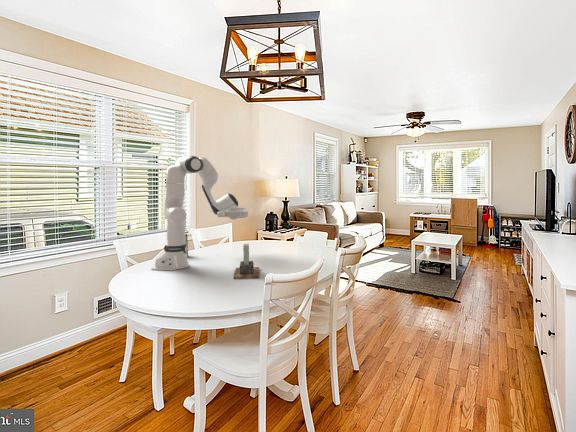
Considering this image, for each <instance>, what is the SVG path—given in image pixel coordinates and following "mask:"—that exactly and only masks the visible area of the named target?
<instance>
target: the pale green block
mask: <svg viewBox="0 0 576 432" xmlns="http://www.w3.org/2000/svg"><path fill="white" fill-rule="evenodd" d="M242 247H243V248H242V249H243V261H244V265H249V261H250V243H243V245H242Z"/></svg>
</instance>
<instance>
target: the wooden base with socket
mask: <svg viewBox="0 0 576 432" xmlns="http://www.w3.org/2000/svg"><path fill="white" fill-rule="evenodd" d="M243 279H245V280H246V279H248V280H249V279H260V266H255V265H254V261H253V260H249V265H244V260H241V261H240V263H239V267H235V270H234V274H233V280H243Z"/></svg>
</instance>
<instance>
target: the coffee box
mask: <svg viewBox="0 0 576 432" xmlns="http://www.w3.org/2000/svg"><path fill="white" fill-rule="evenodd" d="M188 243H189V242H188V234H187V233H185V244H186V246H187V252H186V255H187V257H189V245H188Z"/></svg>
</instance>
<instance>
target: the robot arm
mask: <svg viewBox="0 0 576 432" xmlns="http://www.w3.org/2000/svg"><path fill="white" fill-rule="evenodd" d="M195 173H196V174H198V176H199V177H200V178H201V181H202V183H201V188H202V191H203V194H204V196H205V198H206V200H207V202H208V204H209V206H210V209H211V212H212V213H213V214H214V215H216V216H217V218H229V219H230V220H238V219H243V218H247V217H249V211H248V209H247V208H245V207H239V202H238V200H237V197H235V195H233V194H232V193H227V194H224V195H223V196H222V197H220V198H218V199H217V200H215V199H214V197H213V195H212V193H211V190H212V188H213V187H214V186H215V185H216V184H217V181H218V179H219V174H218V171H217V170H216V168H215V166H214V165H213V164H212V163H211V162H210V161H209V160H208V158H206V157H205V156H199V157H197V156H196V155H183V156H182V155H181V156H179V157H177V158H175V160H174V161H173V165H169V167H168V168H167V171H166V176H165V200H164V211H163V215H164V218H165V219H166V221H167V225H166V244H165V245H164V247H163V250H164V251H163V252H162V253H160V254H159V255H158V256H157V257H156V258H155V261H154V262H155V263H154V264H153V265H152V266H151V268H150V269H151V270H152V271H153V270H154V271H176V270H177V271H178V270H180V269H185V268H188V267H189V266H190V264H189V261H188V256H187V255H186V252H187V246H186V244H185V234H186V223H187V212H186V210H185V208H183V205H184V199H185V184H186V183H185V182H186V181H185V177H186V175H187V174H195Z"/></svg>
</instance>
